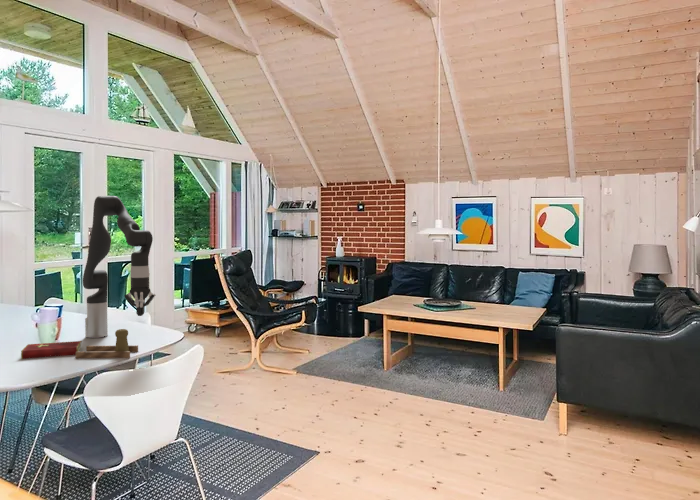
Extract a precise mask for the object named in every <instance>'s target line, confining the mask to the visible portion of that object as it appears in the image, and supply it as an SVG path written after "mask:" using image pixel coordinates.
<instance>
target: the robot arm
mask: <svg viewBox="0 0 700 500" xmlns="http://www.w3.org/2000/svg"><path fill="white" fill-rule="evenodd" d="M93 202H94V203H93V216H92V226H91V233H90V238H89V245H88V252H87V259H86V263H85V267H84V271H83V275H82V287H83V288H84V289H86V290H96V289H97V291H96V292H95V293H93V294H91V295H88V296H87V297H86V317H85V318H84V320H85V321H84V323H85V325H84V328H85V333H84V334H85V338H91V339H92V338H93V339H97V338H98V339H99V338H104V336H105V337H107V336H108V335H109V334H108V325H109V324H108V288H109V287H108V286H109V284H108V283H109V276H108V272H107V270H103V269H100V270H99V269H96V268H97V266H98V265H99V264H100V263H101V262H102V261H103V260H104V259H105V258H106V257H107V256H108V254H109V252H110V250H111V246H112V237H111V234H110V232H108V230H107V228H106V226H105V225H104V217H106V216H107V217H109V216H118V217H117V220H116V225H117V227H118V229H119V230H120V231H121V232H122V234H123V235H124V237H125V241H126V244H127V245H128V246H130V247H136V248H137V247H140V249H139V250H138V251H133V252H132V253H131V255H130V289H129V292H128V293H127V294H125V295H124V298H125V299H126V300H127V301H128V302H129V304H130V305H131V306H132V307H135V309H136V316H137V317H138V316H139V317H143V315H144V314H145V307H147V306H149V305H150V303H151V302H152V301H153V299H155V297H156V294H155V293H153V292H151V289H150V267H149V265H150V264H149V257H150V250H151V248H152V245H153V241H154V240H153V239H154V238H153V234H152V232H151V231H150V230H145V229H143V230H141V228H140V226H139V224H138V223H137V222H136V221H135V220H134V218H132V216H131V215H130V213H129V211H128V210H127V208H126V206H125V205H124V202H123V201H122V200H121V198H119V197H118V196H115V195H98V196H97V197H95V199H94V201H93ZM95 269H96V270H95ZM147 297H148V299H147ZM133 298H134V299H133ZM146 299H147V300H146Z"/></svg>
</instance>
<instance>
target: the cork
mask: <svg viewBox="0 0 700 500" xmlns="http://www.w3.org/2000/svg"><path fill="white" fill-rule="evenodd" d="M114 332H115V333H114V335H115V337H116V341H115V345H114V346H115V351H129V347H128V345H129V343H128V342H129V341H128V336H129V331H128V329H126V328H119V329H117V330H116V331H114Z"/></svg>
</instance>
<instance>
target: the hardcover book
mask: <svg viewBox="0 0 700 500" xmlns="http://www.w3.org/2000/svg"><path fill="white" fill-rule="evenodd" d="M82 342H83V341H82V340H77V341H75V340H74V341H62V342H60V341H59V342H41V343H27V345H26V346H25V347H24V348H23V349H22V350H20V351H21V353H20V356H21V360H25V359H28V360H29V359H37V358H40V359H42V358H55V357H68V356H76V353H75V352H81V349H82V348H81V345H82Z"/></svg>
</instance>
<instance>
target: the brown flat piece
mask: <svg viewBox="0 0 700 500" xmlns="http://www.w3.org/2000/svg"><path fill="white" fill-rule="evenodd" d="M115 346H116V345H86V346H85V350H86V351H84V350H83V351H79V352H75V353H76V355H75V359H118V358H119V359H123V358H124V359H129V358H131V352H137V353H138V352H139V344H138V345H134V344H133V345H132V344H131V345H129V344H128V347H129V351H115Z"/></svg>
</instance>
